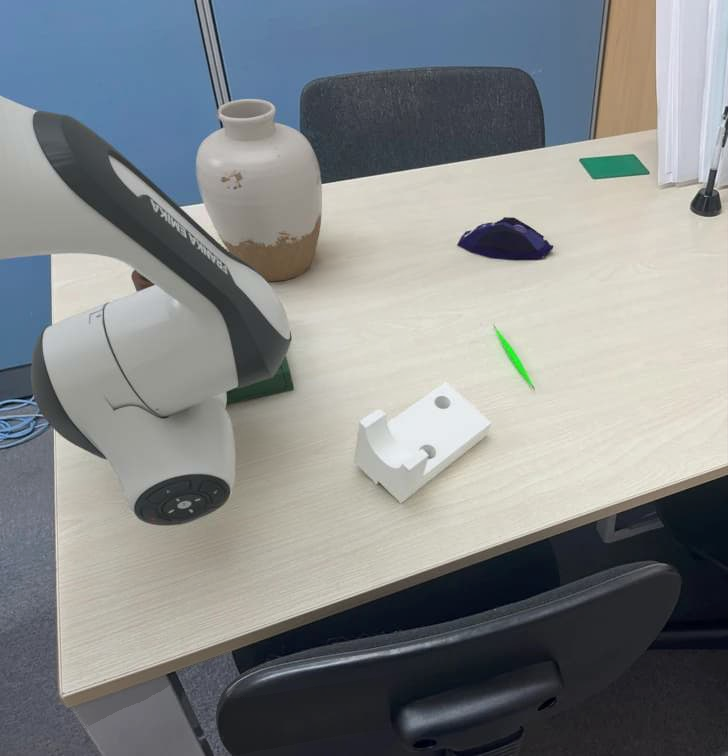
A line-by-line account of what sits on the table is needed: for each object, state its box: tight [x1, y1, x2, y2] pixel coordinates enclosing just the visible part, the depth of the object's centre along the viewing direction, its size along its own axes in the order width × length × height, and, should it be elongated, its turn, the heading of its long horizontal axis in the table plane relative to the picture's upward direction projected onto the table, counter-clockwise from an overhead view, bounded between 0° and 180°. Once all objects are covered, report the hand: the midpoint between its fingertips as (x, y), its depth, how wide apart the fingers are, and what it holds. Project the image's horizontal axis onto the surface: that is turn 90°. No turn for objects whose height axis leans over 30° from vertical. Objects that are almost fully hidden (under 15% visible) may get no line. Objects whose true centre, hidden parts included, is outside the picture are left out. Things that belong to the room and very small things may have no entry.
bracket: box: [353, 381, 492, 504], centre depth 74 cm, size 13×7×8 cm, turn 139°
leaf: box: [492, 324, 535, 389], centre depth 89 cm, size 1×14×1 cm, turn 22°
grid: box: [226, 354, 295, 406], centre depth 86 cm, size 15×15×3 cm
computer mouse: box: [456, 216, 554, 261], centre depth 109 cm, size 9×15×4 cm, turn 74°
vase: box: [195, 98, 323, 282], centre depth 97 cm, size 16×16×23 cm
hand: (165, 299), depth 76 cm, fingers closed on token, 4 cm apart
